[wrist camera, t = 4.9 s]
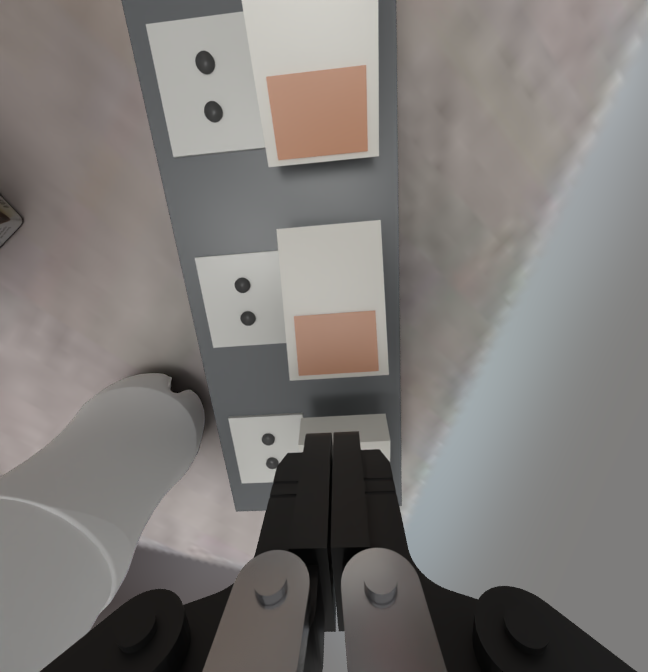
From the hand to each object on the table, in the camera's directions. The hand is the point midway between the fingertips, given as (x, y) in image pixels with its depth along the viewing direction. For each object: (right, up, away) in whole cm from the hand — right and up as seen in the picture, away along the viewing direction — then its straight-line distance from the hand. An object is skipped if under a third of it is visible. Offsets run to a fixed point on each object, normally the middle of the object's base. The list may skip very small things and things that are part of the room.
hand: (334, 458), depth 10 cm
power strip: (-2, +7, +11) cm, 13 cm away
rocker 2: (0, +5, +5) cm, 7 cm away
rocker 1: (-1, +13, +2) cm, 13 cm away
